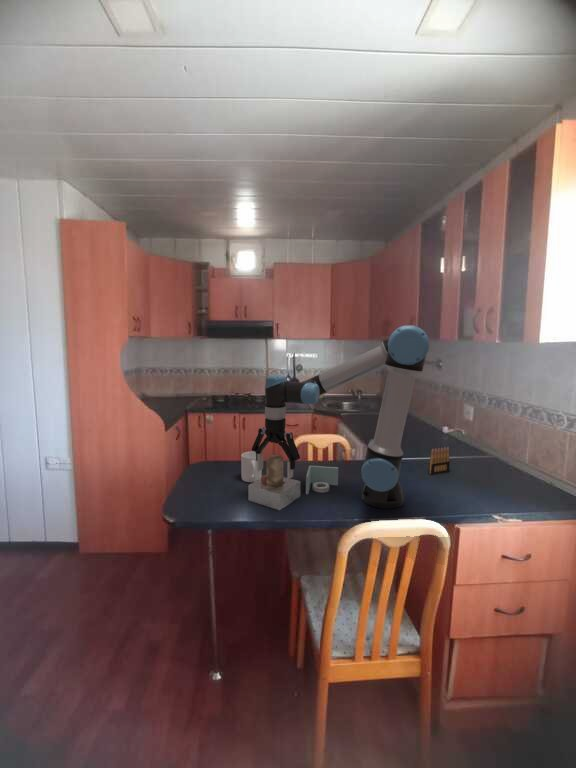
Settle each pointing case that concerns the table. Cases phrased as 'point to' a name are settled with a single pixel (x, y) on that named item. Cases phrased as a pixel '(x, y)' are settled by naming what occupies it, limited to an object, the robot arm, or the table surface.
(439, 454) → the ammunition clip
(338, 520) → the table surface
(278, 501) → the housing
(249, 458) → the mug
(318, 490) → the right angle wall
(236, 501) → the table surface
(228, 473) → the table surface
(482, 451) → the table surface
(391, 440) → the robot arm
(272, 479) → the column
